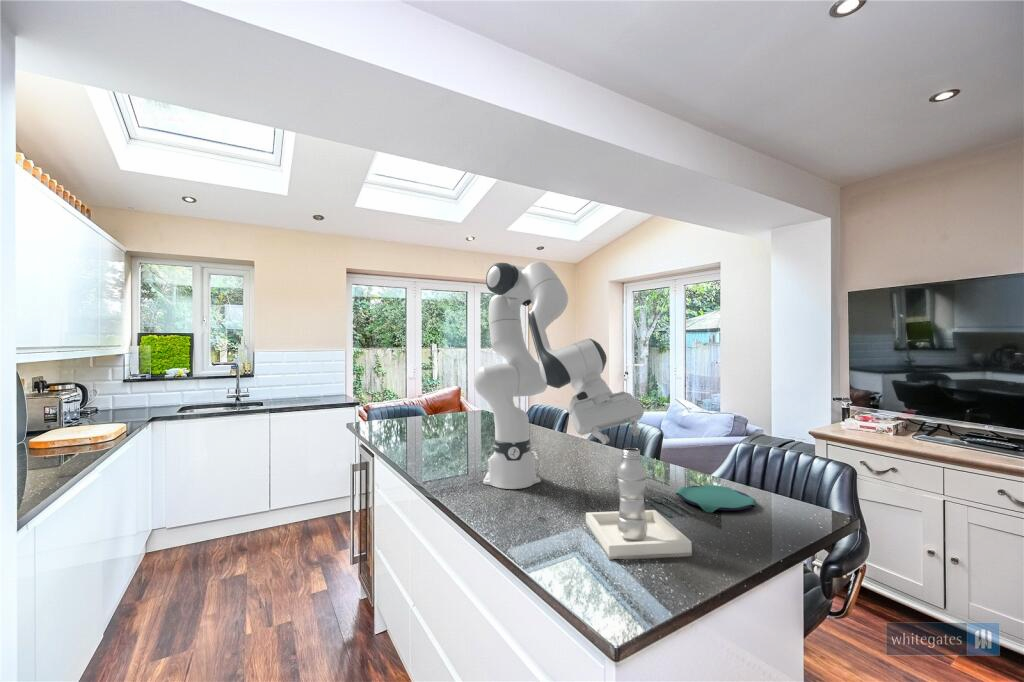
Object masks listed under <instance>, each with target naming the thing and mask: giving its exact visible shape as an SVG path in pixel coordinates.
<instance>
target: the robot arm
mask: <svg viewBox="0 0 1024 682" xmlns="http://www.w3.org/2000/svg"><path fill="white" fill-rule="evenodd" d="M485 283H486V287H487V289H488V290H489V291H490V292H492V293H493V294H494V295H493V296H492V297H491V298H490V300H489V303H488V317H487V318H488V328H489V329H488V330H489V337H490V338H489V339H490V345H491V348H492V350H493V351H494V352H495V353H496V354H498V355H500V356H502V357H503V358H504V359H505V360H506V362H507V363H490V364H487V365H482V366H479V367H478V368H477V369H476V372H475V374H474V377H473V386H474V389H475V391H476V392H477V394H478V395H479V396H480V397H482V398H483V399H484V400H485V401H486V402H487V404H488V405H489V406H490V408H491V411H492V414H493V420H494V436H495V437H494V439H493V454H492V455H491V456H490V457H489V458H488V459H487V467H489V468H488V469H487V473H486V474H485V477H484V478H483V482H482V484H484V485H488V486H493V487H495V488H498V489H506V490H508V489H509V490H517V489H519V490H520V489H525V488H529V487H531V486H533V485H535V484H538V483H541V478H540V477H539V476H538V475H537V474H536V459H535V456H534V455H533V454H532V453H531V439H530V435H529V434H530V433H529V432H530V425H529V424H530V423H529V421H530V420H529V419H530V418H529V415H528V414H527V412H525V411H524V410H523V409H521V408H520V407H517V406H516V405H515V403H514V398H515V397H516V398H517V397H532V396H536V395H539V394H542V393H543V394H544V392H545V391H546V390H547V389H548V386H550V387H552V388H554V389H555V388H556V389H560V388H562V387H565V386H566V385H569V384H570V385H571V387H572V388H573V389H574V390H575V391H576V394H575V395H574V396H572V398H571V400H570V402H569V405H568V409H567V412H568V413H569V415H571V416H570V420H571V423H572V426H573V428H574V430H575V432H576V433H577V434H578V435H580V436H585V435H588V434H591V435H593V437H595V438H597V439H598V440H599V441H600V442H601V443H602V445H603V446H604V445H608V444H609V442H611V441H610V438H609V436H608V434H603V433H602V432H601V431H603V430H606V429H607V430H608V429H611V428H613V427H614V428H615V427H618V426H622V425H625V424H629V426H632V427H631V430H630V433H631V434H632V436H633V437H636V436H639V435H640V433H641V430H640V428H639V427H638V421H639V420H641V419H642V417H643V415H644V414H645V413H644V412H645V410H644V407H643V406H642V405H641V404H640V402H639V401H638V400H637V399H636V398H635V397H634V396H633V395H632V394H631V393H629V392H625V391H620V392H614V393H613V392H612V389H610V387H609V386H608V384H607V383H606V380H604V379H603V377H602V376H601V374H602V373H603V371H604V370H605V366H606V365H607V361H608V360H607V359H608V358H607V354H606V352H605V350H604V347H602V346H601V344H600V343H599V342H598V341H596V340H595V339H592V338H586V339H583V340H580V341H577V342H575V343H573V344H569V345H567V346H564V347H562V348H558V349H552V348H551V346H550V342H549V338H548V334H547V332H546V330H547V329H548V327H549V326H550V325H551V324H552V323H554V321H556V320H557V319H558V318H559V317H560V316H562V315H563V313H564V311H566V308H567V306H568V302H569V296H568V295H569V294H568V292H567V290H566V287H565V286H564V284H563V283H562V281H561V279H560V277H558V275H557V274H556V273H555V271H554V270H553V268H551V267H550V266H549V265H548V264H547V263H546V262H543V261H534V262H531V263H529V264H527V266H525V267H524V266H521V265H515V264H510V263H507V262H496V263H493V264H492V265H491V266H490V267H489V268H488V270H487V272H486V276H485ZM530 305H531V308H530V310H528V314H527V315H528V316H527V319H528V324H529V325H528V326H529V329H530V333H531V337H532V341H533V344H534V348H535V353H536V355H537V360H538V361H536V359H535V358H534V357H533V356H532V354H531V353H530V352H529V350H528V348H527V344H526V343H525V339H524V334H523V327H522V320H521V313H520V309H521V306H525V307H527V306H530Z"/></svg>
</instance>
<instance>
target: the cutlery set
mask: <svg viewBox="0 0 1024 682" xmlns="http://www.w3.org/2000/svg"><path fill="white" fill-rule="evenodd" d="M675 494H676V495H677V496H678V497H679V498H680V499H682V500H683V501H684V502H686V503H688V504H691V505H693V506H696V507H700V508H701V509H702V510H703V511H704V512H705V513H708V512H709V513H708V514H712V513H714V512H715V511H716V510H717V511H742V510H746V509H749V508H751V507H752V508H755V507H756V504H757V500H756V499H755V498H753V497H752V496H750V495H748V494H746V493H745V492H741V491H739V490H736V489H733V488H732V487H728V486H722V485H714V484H705V485H692V486H691V485H690V486H683V487H680V488H679V489H677V491H676V493H675ZM662 496H663V497H660V496H657V495H652V496H650V498H651V499H652V497H658V498H661V499H662V500H664V501H665V502H663V501H662V500H661V501H662V502H661V501H657V500H656V499H654V501H653V500H650V501H645V502H644V503H646V502H647V503H648V504H652V505H653V507H654V506H655V507H656V508H657V509H656V508H655V507H654V508H655V509H656V510H658V509H659V510H660V511H659V510H658V511H659V512H661V513H662V512H663V513H662V514H664V515H665V516H667V517H668V516H669V517H668V518H672V517H673V516H672V515H673V514H672V513H671V512H669V511H668V510H665V509H664V508H661V507H660V506H658V504H660V503H662V504H661V505H663V504H664V506H666V507H667V508H670V509H671V510H672V511H674V512H675V513H677V514H679V515H680V516H683V515H684V511H682V510H679V509H680V508H681V509H683V510H685V511H686V512H688V513H689V514H691V516H695V512H693V511H691V510H689V509H687V507H686V508H685V507H684V506H683V504H681V503H680V502H676V501H675V500H674V499H672V498H670V497H669V496H666V495H662ZM665 498H666V500H667V499H668V500H667V501H668V502H670V501H671V502H670V503H672V504H673V505H675V507H674V506H673V505H669V504H667V503H666V500H665ZM655 501H656V502H658V503H657V504H656V502H655ZM647 503H646V504H647ZM648 504H647V505H648ZM652 505H651V506H652ZM676 507H678V508H679V509H678V508H676Z"/></svg>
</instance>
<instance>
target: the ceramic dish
mask: <svg viewBox="0 0 1024 682" xmlns="http://www.w3.org/2000/svg"><path fill="white" fill-rule="evenodd" d="M618 516H619V510H618V511H616V510H615V511H595V512H593V511H592V512H585V526H586V525H587V526H586V527H587V529H588V528H589V529H588V530H589V532H590V534H591V535H592V536H593V538H594V537H595V538H594V540H595V539H596V540H597V541H596V540H595V541H596V543H597V542H598V543H599V544H598V543H597V544H598V546H599V545H600V546H601V547H600V546H599V547H600V548H602V549H603V550H602V549H601V550H602V552H603V551H604V552H605V553H604V552H603V553H604V555H605V554H606V555H605V556H606V558H607V557H608V558H607V559H608V560H609V561H614V560H613V559H624V560H639V559H643V560H644V559H660V558H661V559H662V558H678V557H679V558H682V557H692V556H693V551H692V550H693V549H692V547H693V546H692V545H693V544H692V541H691V540H690V539H689V538H688V537H687V536H686V535H684V534H683V533H682V532H681V531H680V530H678V528H677V527H675V526H674V525H673V524H672V523H671V522H670V521H669V520H667V519H666V518H665V517H664V516H663V515H661V514H660V513H659V512H658V511H657V509H646V510H645V518H646V521H647V527H648V530H647V535H646V536H645V538H644V539H642V540H629V539H626V538H623V537H622V536H621V535H620V533H619V532H618V527H617V522H618Z"/></svg>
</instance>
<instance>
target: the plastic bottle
mask: <svg viewBox="0 0 1024 682" xmlns="http://www.w3.org/2000/svg"><path fill="white" fill-rule="evenodd" d="M622 458H623V460H622V461H621V463H619V465H618V467H617V469H616V477H617V478H616V480H617V487H618V495H619V505H618V506H619V508H618V509H619V510H618V511H619V516H618V522H617V527H618V532H619V533H620V535H621V536H622V537H623V538H626V539H629V540H642V539H644V538H645V536H646V535H647V530H648V527H647V521H646V518H645V502H644V499H645V492H646V491H645V490H646V484H647V483H646V482H647V471H646V469H645V467H644V465H643V463H642V462H641V461H640V459H641V450H640V448H639V449H638V448H634V447H625V448H623V450H622Z"/></svg>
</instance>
